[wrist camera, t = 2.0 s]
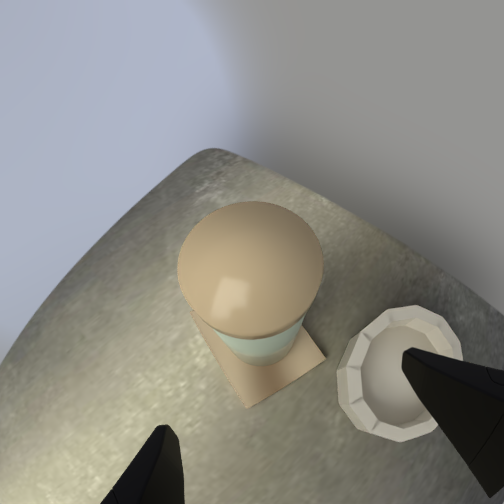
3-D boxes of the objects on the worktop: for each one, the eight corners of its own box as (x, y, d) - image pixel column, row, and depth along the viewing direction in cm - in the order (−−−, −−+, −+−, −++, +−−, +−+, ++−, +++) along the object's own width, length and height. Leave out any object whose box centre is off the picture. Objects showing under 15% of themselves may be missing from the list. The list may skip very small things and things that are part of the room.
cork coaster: (247, 408, 18) (247, 409, 18) (191, 314, 22) (189, 312, 22) (324, 359, 20) (326, 358, 19) (262, 273, 24) (262, 269, 23)
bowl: (379, 459, 15) (394, 466, 13) (312, 366, 20) (319, 362, 17) (460, 378, 17) (479, 373, 15) (402, 295, 22) (416, 282, 19)
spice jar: (249, 380, 19) (220, 362, 8) (213, 322, 21) (157, 242, 11) (309, 342, 20) (353, 278, 9) (271, 288, 23) (270, 183, 12)
